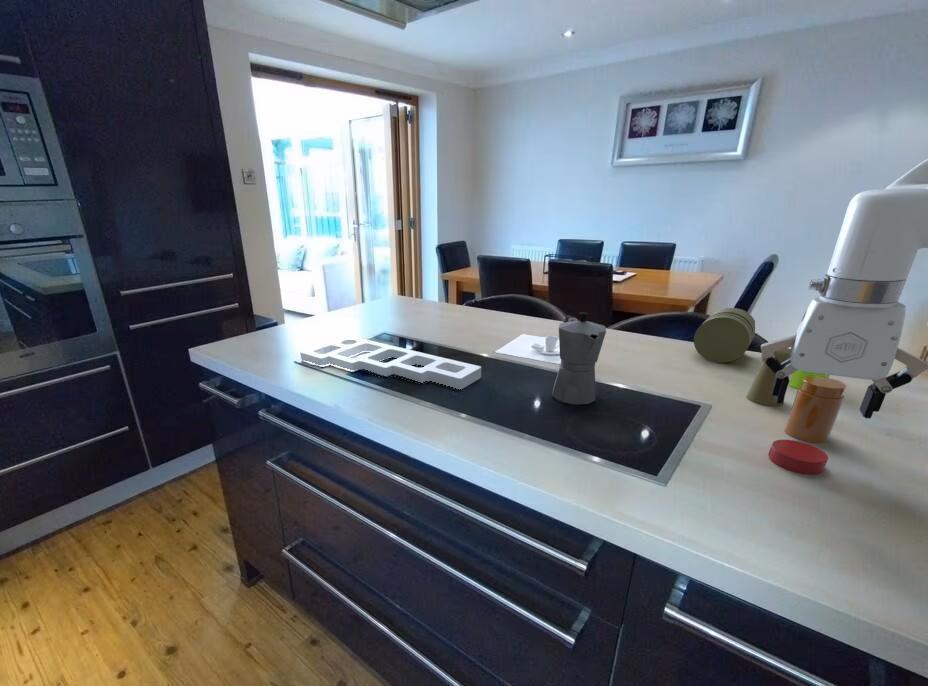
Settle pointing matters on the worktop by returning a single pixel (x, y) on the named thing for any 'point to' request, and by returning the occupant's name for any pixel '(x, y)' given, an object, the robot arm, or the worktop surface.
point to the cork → (766, 381)
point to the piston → (725, 335)
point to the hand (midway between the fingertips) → (819, 407)
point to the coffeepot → (578, 360)
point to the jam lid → (798, 456)
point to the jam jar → (815, 409)
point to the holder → (393, 362)
